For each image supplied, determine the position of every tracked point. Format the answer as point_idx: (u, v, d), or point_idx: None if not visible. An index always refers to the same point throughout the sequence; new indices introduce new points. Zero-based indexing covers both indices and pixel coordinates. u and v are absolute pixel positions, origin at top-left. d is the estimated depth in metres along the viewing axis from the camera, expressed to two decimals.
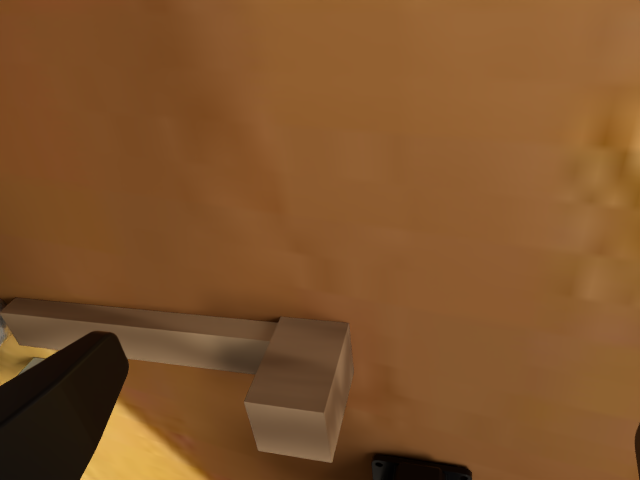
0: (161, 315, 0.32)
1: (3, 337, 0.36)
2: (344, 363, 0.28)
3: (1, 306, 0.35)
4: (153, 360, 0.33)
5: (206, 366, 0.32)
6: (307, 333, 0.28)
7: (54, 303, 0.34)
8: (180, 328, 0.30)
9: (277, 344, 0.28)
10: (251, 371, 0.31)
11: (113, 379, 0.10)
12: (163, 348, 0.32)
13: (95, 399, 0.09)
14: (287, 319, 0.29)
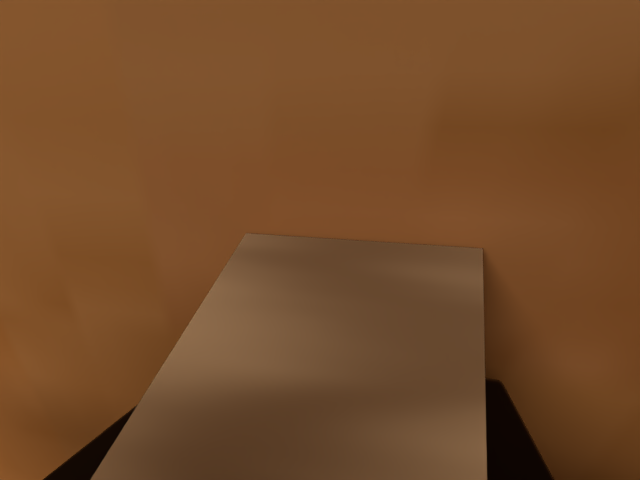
0: None
1: None
2: (290, 307, 0.07)
3: None
4: None
5: None
6: None
7: None
8: None
9: None
10: None
11: None
12: None
13: None
14: None
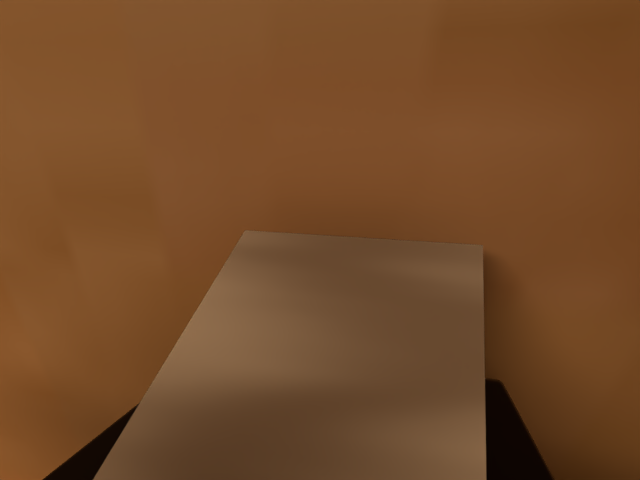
0: None
1: None
2: (289, 306, 0.07)
3: None
4: None
5: None
6: None
7: None
8: None
9: None
10: None
11: None
12: None
13: None
14: None
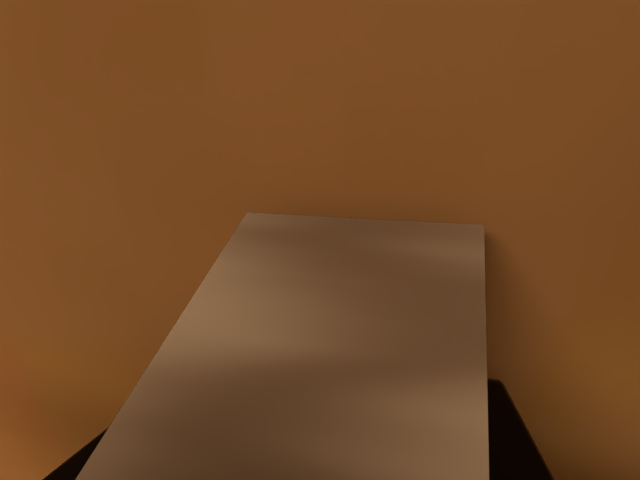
0: None
1: None
2: (291, 283, 0.07)
3: None
4: None
5: None
6: None
7: None
8: None
9: None
10: None
11: None
12: None
13: None
14: None
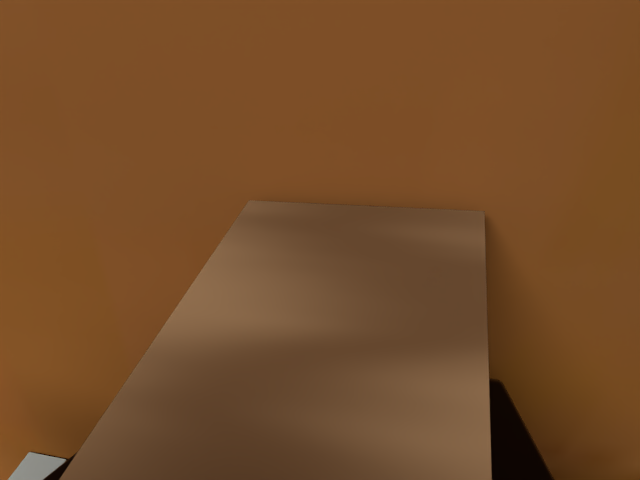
0: None
1: None
2: (293, 266, 0.07)
3: None
4: None
5: None
6: None
7: None
8: None
9: None
10: None
11: None
12: None
13: None
14: None
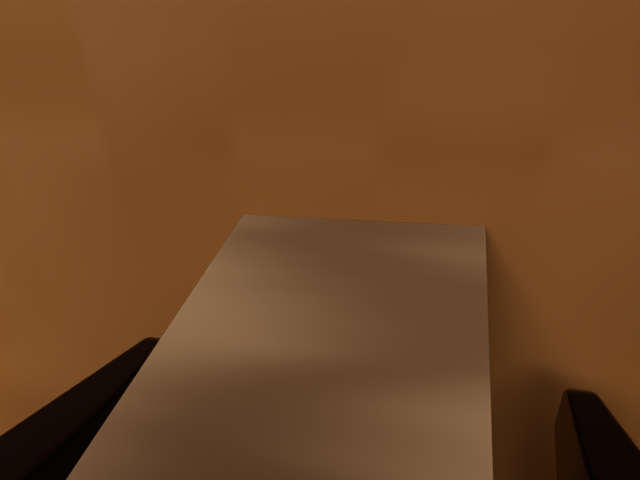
0: None
1: None
2: (288, 285, 0.07)
3: None
4: None
5: None
6: None
7: None
8: None
9: None
10: None
11: None
12: None
13: None
14: None
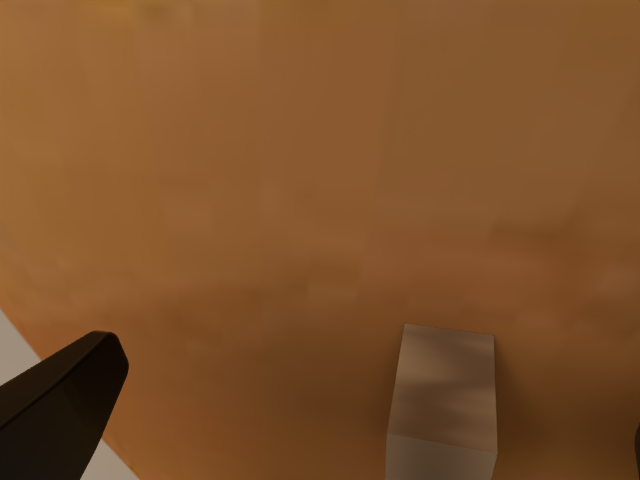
0: None
1: None
2: (431, 355, 0.23)
3: None
4: None
5: None
6: None
7: None
8: None
9: None
10: None
11: (113, 379, 0.10)
12: None
13: (95, 399, 0.09)
14: None
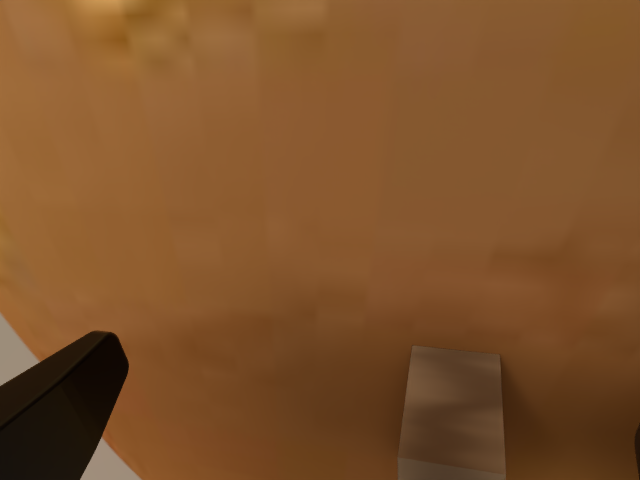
0: None
1: None
2: (438, 377, 0.23)
3: None
4: None
5: None
6: None
7: None
8: None
9: None
10: None
11: (113, 379, 0.10)
12: None
13: (95, 399, 0.09)
14: None
